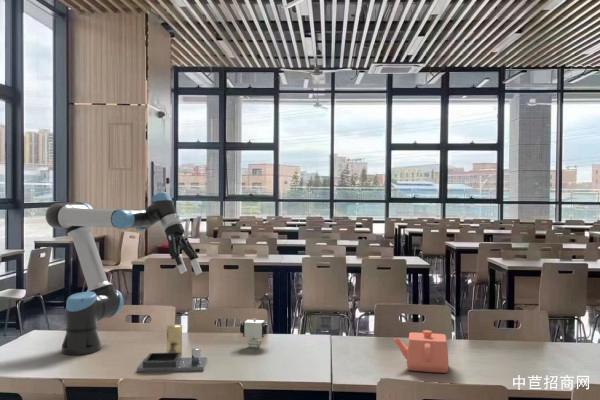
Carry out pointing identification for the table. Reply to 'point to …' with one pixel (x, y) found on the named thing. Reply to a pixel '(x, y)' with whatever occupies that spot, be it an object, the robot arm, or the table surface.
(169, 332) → the gold tapered block
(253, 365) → the table surface
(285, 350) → the table surface
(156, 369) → the base
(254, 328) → the pneumatic valve
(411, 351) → the teapot
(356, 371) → the table surface
